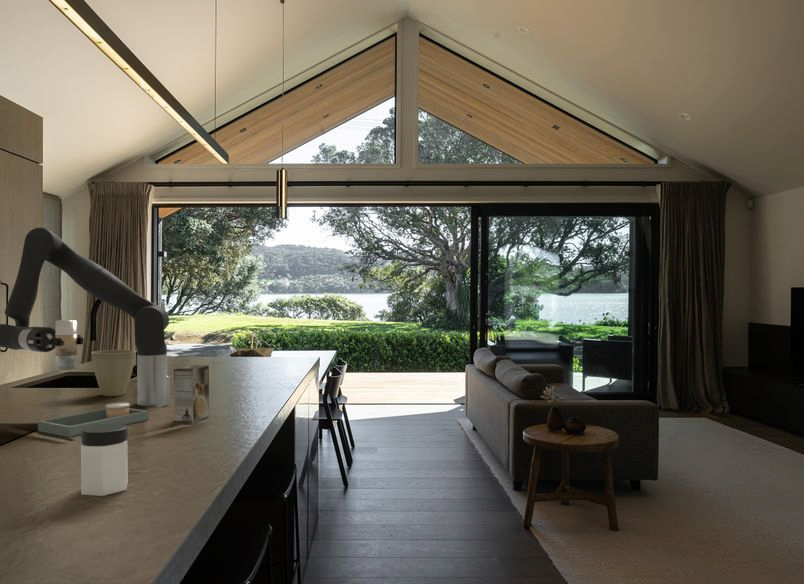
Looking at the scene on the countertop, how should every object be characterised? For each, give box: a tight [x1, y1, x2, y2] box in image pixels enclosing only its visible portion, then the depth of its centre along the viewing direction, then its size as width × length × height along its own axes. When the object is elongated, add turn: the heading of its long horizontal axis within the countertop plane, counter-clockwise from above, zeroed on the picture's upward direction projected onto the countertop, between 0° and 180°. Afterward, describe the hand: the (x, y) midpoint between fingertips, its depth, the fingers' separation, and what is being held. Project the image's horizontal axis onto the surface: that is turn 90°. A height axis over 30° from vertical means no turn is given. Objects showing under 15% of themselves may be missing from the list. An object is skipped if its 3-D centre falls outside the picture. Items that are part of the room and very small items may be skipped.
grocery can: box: [54, 319, 78, 371], centre depth 181 cm, size 6×6×14 cm
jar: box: [80, 424, 129, 497], centre depth 121 cm, size 9×8×12 cm
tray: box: [37, 407, 150, 442], centre depth 174 cm, size 24×14×4 cm, turn 150°
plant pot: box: [90, 349, 137, 397], centre depth 229 cm, size 15×15×16 cm
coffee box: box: [173, 364, 210, 426], centre depth 183 cm, size 9×6×16 cm
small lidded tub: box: [105, 401, 131, 419], centre depth 180 cm, size 6×6×5 cm
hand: (71, 341), depth 180 cm, fingers closed on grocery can, 5 cm apart
